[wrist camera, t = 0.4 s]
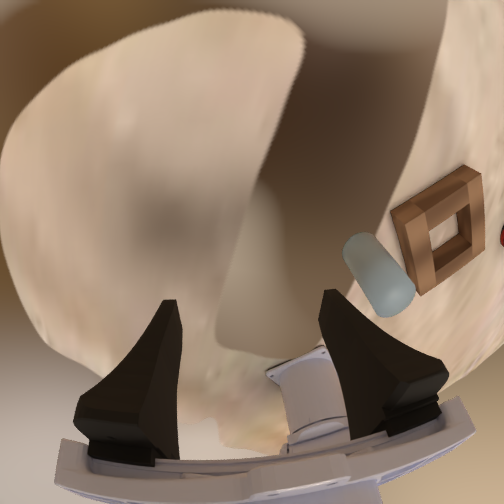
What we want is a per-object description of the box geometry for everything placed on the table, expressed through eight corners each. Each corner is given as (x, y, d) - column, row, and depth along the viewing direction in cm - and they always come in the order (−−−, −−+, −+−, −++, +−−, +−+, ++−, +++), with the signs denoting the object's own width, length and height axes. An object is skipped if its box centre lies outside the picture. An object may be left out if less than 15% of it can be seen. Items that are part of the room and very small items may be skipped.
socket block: (472, 238, 26) (484, 249, 24) (409, 282, 28) (420, 296, 26) (464, 164, 21) (481, 173, 19) (390, 211, 23) (404, 224, 21)
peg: (381, 253, 25) (418, 301, 20) (349, 271, 26) (380, 324, 20) (370, 224, 24) (412, 271, 18) (336, 245, 24) (369, 297, 18)
